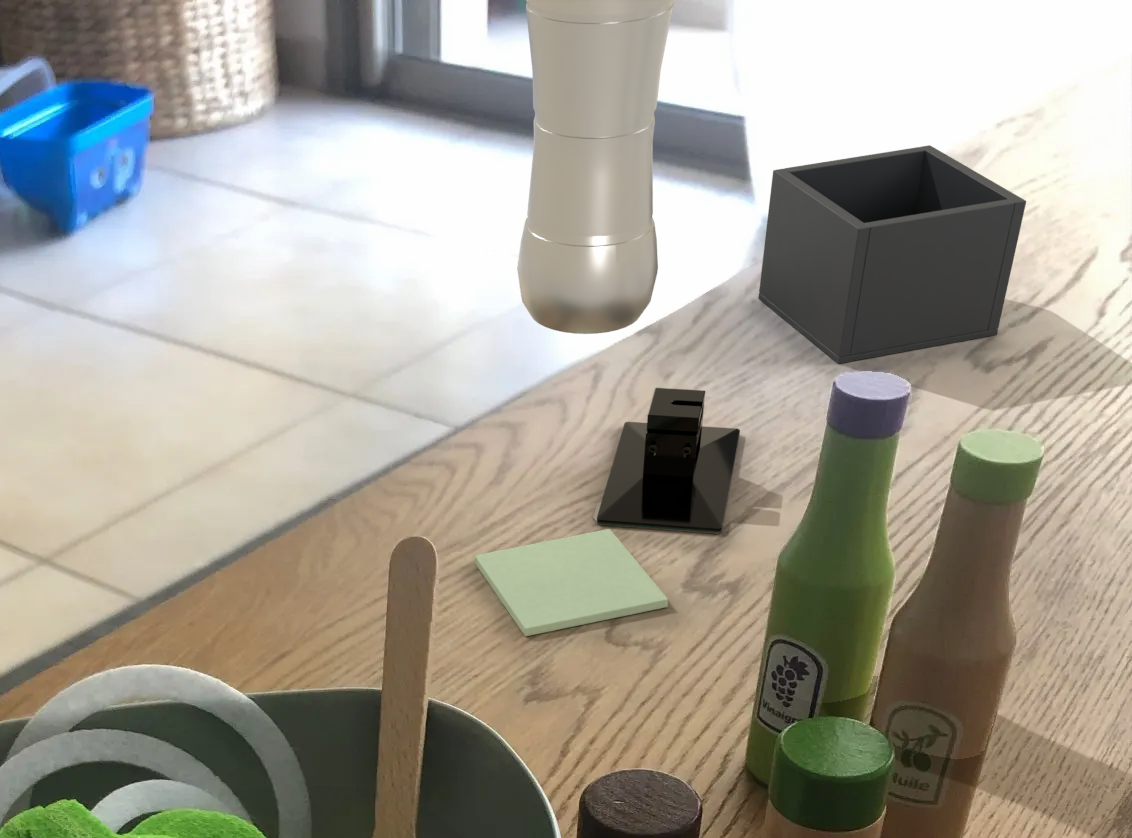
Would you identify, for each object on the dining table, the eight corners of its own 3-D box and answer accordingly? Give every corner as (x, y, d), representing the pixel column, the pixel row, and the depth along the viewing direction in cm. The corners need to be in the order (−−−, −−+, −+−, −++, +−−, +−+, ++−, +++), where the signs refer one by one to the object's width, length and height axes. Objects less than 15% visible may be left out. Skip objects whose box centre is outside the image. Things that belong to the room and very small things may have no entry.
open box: (907, 272, 116) (930, 144, 110) (997, 334, 108) (1026, 200, 102) (757, 298, 113) (772, 169, 108) (838, 363, 105) (858, 228, 100)
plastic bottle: (583, 286, 82) (602, -204, 68) (683, 323, 78) (725, -188, 64) (488, 323, 79) (487, -180, 65) (586, 364, 75) (608, -161, 61)
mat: (609, 536, 91) (610, 528, 91) (668, 607, 86) (668, 598, 85) (474, 563, 90) (474, 555, 89) (525, 636, 84) (525, 628, 84)
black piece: (721, 536, 91) (729, 458, 88) (591, 526, 92) (594, 449, 89) (739, 433, 99) (748, 358, 96) (620, 426, 101) (624, 352, 97)
